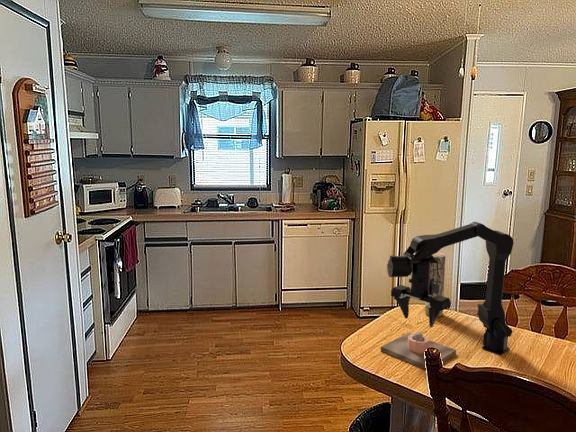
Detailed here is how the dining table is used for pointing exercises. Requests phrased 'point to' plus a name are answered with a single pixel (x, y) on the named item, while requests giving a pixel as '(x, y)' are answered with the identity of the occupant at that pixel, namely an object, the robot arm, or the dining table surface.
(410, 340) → the spool ring
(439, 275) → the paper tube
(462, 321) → the dining table surface
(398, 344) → the board
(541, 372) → the dining table surface
